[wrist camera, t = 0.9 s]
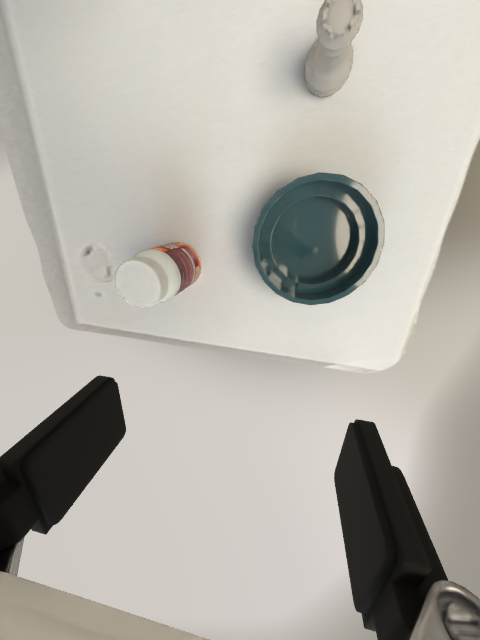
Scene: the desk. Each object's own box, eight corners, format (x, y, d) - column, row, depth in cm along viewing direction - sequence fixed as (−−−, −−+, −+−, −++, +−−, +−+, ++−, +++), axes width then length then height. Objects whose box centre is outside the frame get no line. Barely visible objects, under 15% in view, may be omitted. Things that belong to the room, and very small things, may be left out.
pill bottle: (186, 233, 34) (140, 241, 23) (210, 273, 35) (177, 297, 25) (153, 255, 36) (98, 272, 26) (177, 292, 37) (134, 321, 27)
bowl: (250, 195, 30) (242, 191, 25) (367, 167, 27) (384, 156, 22) (267, 297, 35) (263, 311, 30) (369, 283, 32) (384, 296, 27)
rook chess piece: (300, 98, 26) (303, 52, 19) (308, 39, 24) (315, -35, 17) (344, 99, 25) (365, 52, 18) (356, 39, 24) (385, -39, 16)
